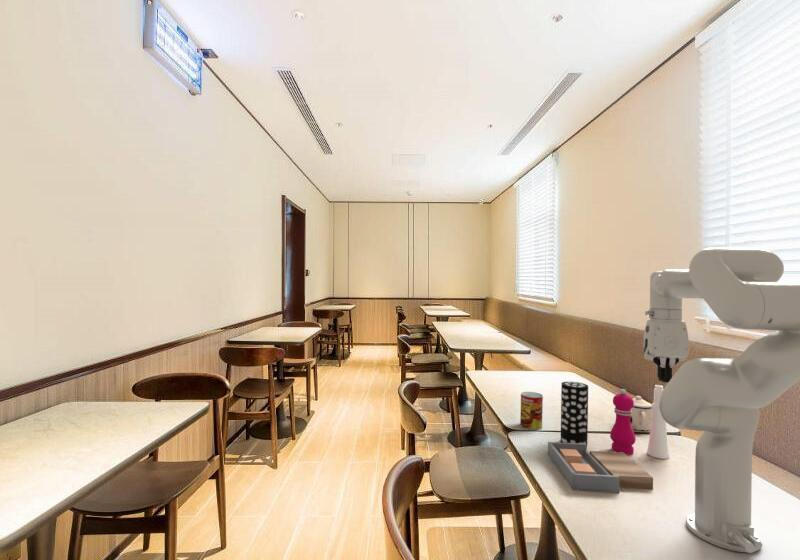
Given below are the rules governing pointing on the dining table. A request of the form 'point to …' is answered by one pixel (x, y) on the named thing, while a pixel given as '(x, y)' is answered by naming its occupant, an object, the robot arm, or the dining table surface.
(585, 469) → the tile
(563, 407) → the spotted tube
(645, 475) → the board
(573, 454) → the tile
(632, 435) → the pepper mill
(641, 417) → the teacup with lid
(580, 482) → the box
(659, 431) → the cosmetic bottle
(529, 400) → the canned food
